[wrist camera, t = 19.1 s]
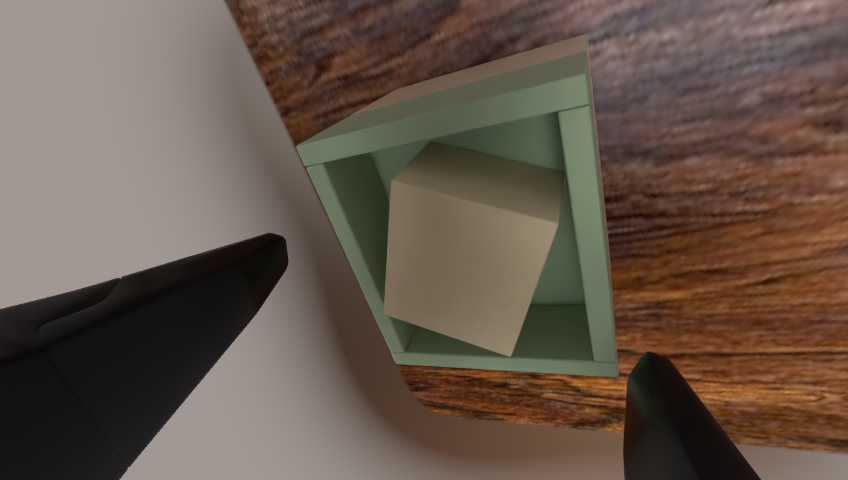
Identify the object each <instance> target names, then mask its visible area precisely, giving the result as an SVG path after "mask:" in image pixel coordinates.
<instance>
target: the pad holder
mask: <svg viewBox="0 0 848 480" xmlns="http://www.w3.org/2000/svg"><path fill="white" fill-rule="evenodd" d="M429 142H436V143H440V144H444V145H449V146H453V147H457V148H462V149H466V150H471V151H475V152H479V153H484V154H488V155H492V156H497V157H501V158H506V159H510V160H514V161H519V162H523V163H527V164H532V165H536V166H540V167H545V168H549V169H554V170H558V171H562V172H564V173H565V177H564V185H563V193H562V201H561V209H560V217H559V225H558V228H557V231H556V233H555V236H554V239H553V242H552V245H551V247H550V250H549V253H548V256H547V258H546V261H545V264H544V267H543V270H542V272H541V275H540V278H539V281H538V284H537V286H536V289H535V292H534V295H533V297H532V300H531V303H530V306H529V309H528V311H527V314H526V317H525V320H524V323H523V325H522V328H521V331H520V334H519V336H518V339H517V342H516V345H515V348H514V350H513V353H512V355H511V356H510V357H509V356H506V355H503V354H500V353H497V352H494V351H491V350H488V349H485V348H482V347H479V346H476V345H473V344H470V343H467V342H465V341H462V340H459V339H456V338H453V337H450V336H447V335H444V334H441V333H438V332H435V331H432V330H429V329H426V328H423V327H420V326H417V325H414V324H412V323H409V322H406V321H403V320H400V319H397V318H394V317H391V316H388V315H385V314H384V298H385V280H386V262H387V245H388V227H389V209H390V192H391V181H392V180H393V179H394V178H395V177H396V176H397V175H398V174H399V173H400V172H401V171H402V170H403V169H404V168H405V167H406V166H407V165H408V164H409V163H410V162H411V161H412V159H413V158H414V157H415V156H416V155H417V154H418V153H419V152H420V151H421V150H422V149H423V148H424V147H425V146H426V145H427V144H428V143H429ZM296 148H297V150H298V152H299V155H300V157H301V159H302V161H303V163H304V165H305V166H307V171H308V173H309V175H310V178H311V180H312V182H313V184H314V186H315V188H316V191H317V193H318V195H319V197H320V199H321V202H322V204H323V206H324V208H325V210H326V212H327V215H328V217H329V219H330V221H331V223H332V226H333V228H334V230H335V232H336V234H337V236H338V239H339V241H340V243H341V245H342V247H343V250H344V252H345V254H346V256H347V258H348V260H349V263H350V265H351V267H352V269H353V271H354V273H355V276H356V278H357V280H358V282H359V284H360V287H361V289H362V291H363V293H364V295H365V297H366V300H367V302H368V304H369V306H370V308H371V311H372V313H373V315H374V317H375V319H376V321H377V324H378V326H379V328H380V330H381V332H382V335H383V337H384V339H385V341H386V343H387V345H388V348H389V350H390V351H391V354H392V356H393V359H394V361H395V363H396V364H407V365H424V366H441V367H457V368H474V369H490V370H507V371H524V372H540V373H557V374H573V375H590V376H607V377H618V375H619V370H618V357H617V344H616V331H615V318H614V304H613V291H612V278H611V265H610V252H609V240H608V230H607V220H606V211H605V201H604V191H603V181H602V172H601V162H600V152H599V142H598V132H597V123H596V113H595V103H594V93H593V84H592V74H591V64H590V54H589V44H588V35H587V34H583V35H580V36H576V37H573V38H569V39H566V40H562V41H559V42H556V43H552V44H549V45H545V46H542V47H539V48H535V49H532V50H528V51H525V52H521V53H518V54H515V55H511V56H508V57H504V58H501V59H498V60H494V61H491V62H487V63H484V64H480V65H477V66H474V67H470V68H467V69H463V70H460V71H457V72H453V73H450V74H446V75H443V76H439V77H436V78H433V79H429V80H426V81H422V82H419V83H416V84H412V85H409V86H405V87H402V88H398V89H396V90H394V91H393V92H391V93H389V94H387V95H385V96H384V97H382V98H380V99H378V100H377V101H375V102H373V103H371V104H370V105H368V106H366V107H364V108H362V109H361V110H359V111H357V112H355V113H354V114H352V115H351V116H348V117H347V118H345V119H344V120H341V121H339V122H338V123H336V124H334V125H332V126H331V127H329V128H327V129H325V130H323V131H322V132H320V133H318V134H316V135H315V136H313V137H311V138H309V139H308V140H306V141H304V142H302V143H300V144H299V145H297V146H296Z"/></svg>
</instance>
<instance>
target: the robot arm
mask: <svg viewBox="0 0 848 480" xmlns="http://www.w3.org/2000/svg"><path fill="white" fill-rule="evenodd" d="M287 266H288V254H287V245H286V240H285V238H284V237H282V236H280V235H276V234H273V233H267V234H263V235H260V236H257V237H253V238H250V239H247V240H243V241H240V242H237V243H233V244H230V245H227V246H224V247H220V248H216V249H213V250H210V251H206V252H203V253H200V254H197V255H193V256H190V257H186V258H183V259H180V260H177V261H173V262H170V263H166V264H163V265H160V266H156V267H153V268H150V269H146V270H143V271H139V272H136V273H133V274H129V275H126V276H123V277H122V278H121V279H120V278H116V279H113V280H110V281H106V282H103V283H100V284H96V285H92V286H89V287H85V288H82V289H78V290H75V291H71V292H67V293H63V294H59V295H55V296H51V297H47V298H43V299H39V300H35V301H31V302H27V303H23V304H19V305H15V306H11V307H7V308H3V309H0V480H119V479H120V478H121V477H122V476H123V475H124V473H125V472H126V471H127V469H128V468H127V467H130V466H131V465H132V463H133V462H134V461H135V460H136V459H137V457H138V456H139V455H140V454H141V452H142V451H143V450H144V449H145V448H146V447H147V445H148V444H149V443H150V442H151V441H152V439H153V438H154V437H155V436H156V435H157V433H158V432H159V431H160V430H161V428H162V427H163V426H164V425H165V424H166V422H167V421H168V420H169V419H170V418H171V416H172V415H173V414H174V413H175V412H176V410H177V409H178V408H179V407H180V406H181V404H182V403H183V402H184V401H185V400H186V398H187V397H188V396H189V395H190V394H191V392H192V391H193V390H194V389H195V387H196V386H197V385H198V384H199V383H200V381H201V380H202V379H203V378H204V377H205V375H206V374H207V373H208V372H209V371H210V369H211V368H212V367H213V366H214V365H215V363H216V362H217V361H218V360H219V359H220V357H221V356H222V355H223V354H224V352H225V351H226V350H227V349H228V348H229V346H230V345H231V344H232V343H233V342H234V340H235V339H236V338H237V337H238V335H239V334H240V333H241V332H242V331H243V330H244V328H245V327H246V326H247V324H248V323H249V322H250V321H251V320H252V319H253V317H254V316H255V315H256V314H257V312H258V311H259V309H260V308H261V307H262V305H263V303H264V302H265V300H266V299H267V298H268V296H269V294H270V293H271V292H272V290H273V289H274V287H275V286H276V284H277V283H278V281H279V279H280V278H281V277H282V275H283V273H284V272H285V270H286V269H287ZM623 457H624V475H625V480H761V479H760V478H759V476H758V475H757V474H756V472H755V471H754V470H753V469H752V467H751V466H750V465H749V463H748V462H747V461H746V459H745V458H744V457H743V455H742V454H741V453H740V451H739V450H738V449H737V447H736V446H735V445H734V443H733V442H732V441H731V440H730V438H729V437H728V436H727V434H726V433H725V432H724V430H723V429H722V428H721V426H720V425H719V424H718V422H717V421H716V420H715V419H714V417H713V416H712V415H711V413H710V412H709V411H708V409H707V408H706V407H705V405H704V404H703V403H702V401H701V400H700V399H699V398H698V396H697V395H696V394H695V392H694V391H693V390H692V388H691V387H690V386H689V384H688V383H687V382H686V380H685V379H684V378H683V376H682V375H681V374H680V373H679V371H678V370H677V369H676V367H675V366H674V365H673V363H672V362H671V361H670V360H669V359H668V358H667V357H665V356H662V355H659V354H656V353H653V352H645V353H644V354H643V355H642V357H641V358H640V360H639V361H638V363H637V364H636V366H635V367H634V369H633V370H632V372H631V373H630V376H629V378H628V383H627V396H626V412H625V427H624V445H623Z"/></svg>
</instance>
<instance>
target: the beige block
mask: <svg viewBox="0 0 848 480" xmlns="http://www.w3.org/2000/svg"><path fill="white" fill-rule="evenodd" d="M564 177H565V173H564V172H562V171H558V170H554V169H549V168H545V167H540V166H536V165H532V164H527V163H523V162H519V161H514V160H510V159H506V158H501V157H497V156H492V155H488V154H484V153H479V152H475V151H471V150H466V149H462V148H457V147H453V146H449V145H444V144H440V143H436V142H429V143H428V144H427V145H426V146H425V147H424V148H423V149H422V150H421V151H420V152H419V153H418V154H417V155H416V156H415V157H414V158H413V159H412V161H411V162H410V163H409V164H408V165H407V166H406V167H405V168H404V169H403V170H402V171H401V172H400V173H399V174H398V175H397V176H396V177H395V178H394V179H393V180H392V181H391V192H390V209H389V227H388V245H387V262H386V280H385V298H384V314H385V315H388V316H391V317H394V318H397V319H400V320H403V321H406V322H409V323H412V324H414V325H417V326H420V327H423V328H426V329H429V330H432V331H435V332H438V333H441V334H444V335H447V336H450V337H453V338H456V339H459V340H462V341H465V342H467V343H470V344H473V345H476V346H479V347H482V348H485V349H488V350H491V351H494V352H497V353H500V354H503V355H506V356H509V357H510V356H511V355H512V353H513V350H514V348H515V345H516V342H517V339H518V336H519V334H520V331H521V328H522V325H523V323H524V320H525V317H526V314H527V311H528V309H529V306H530V303H531V300H532V297H533V295H534V292H535V289H536V286H537V284H538V281H539V278H540V275H541V272H542V270H543V267H544V264H545V261H546V258H547V256H548V253H549V250H550V247H551V245H552V242H553V239H554V236H555V233H556V231H557V228H558V225H559V217H560V209H561V201H562V193H563V185H564Z"/></svg>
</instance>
